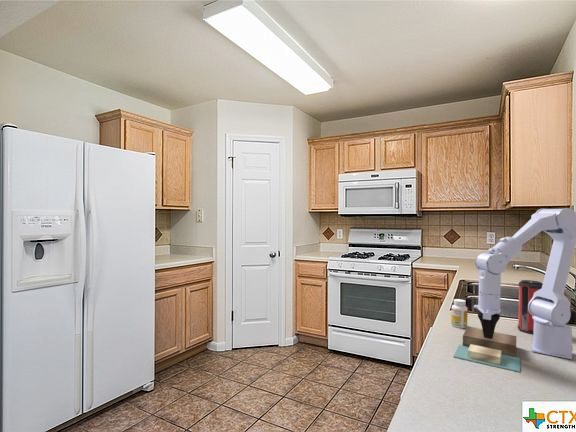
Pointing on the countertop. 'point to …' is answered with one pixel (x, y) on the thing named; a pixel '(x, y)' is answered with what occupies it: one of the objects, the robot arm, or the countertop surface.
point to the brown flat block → (491, 341)
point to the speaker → (526, 304)
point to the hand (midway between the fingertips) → (488, 337)
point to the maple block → (484, 354)
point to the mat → (506, 362)
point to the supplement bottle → (459, 314)
